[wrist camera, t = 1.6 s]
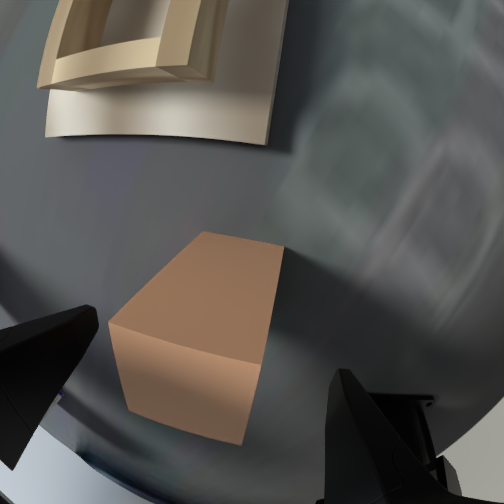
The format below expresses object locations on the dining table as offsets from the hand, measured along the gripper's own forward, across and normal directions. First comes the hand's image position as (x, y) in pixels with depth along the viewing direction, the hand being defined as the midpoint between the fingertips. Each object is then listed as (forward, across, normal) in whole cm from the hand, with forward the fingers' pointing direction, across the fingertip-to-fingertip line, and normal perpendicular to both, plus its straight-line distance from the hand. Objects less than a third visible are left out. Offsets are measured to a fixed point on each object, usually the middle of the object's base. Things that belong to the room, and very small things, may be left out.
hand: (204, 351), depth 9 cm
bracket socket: (+6, +6, -13) cm, 16 cm away
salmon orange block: (+6, 0, 0) cm, 6 cm away
